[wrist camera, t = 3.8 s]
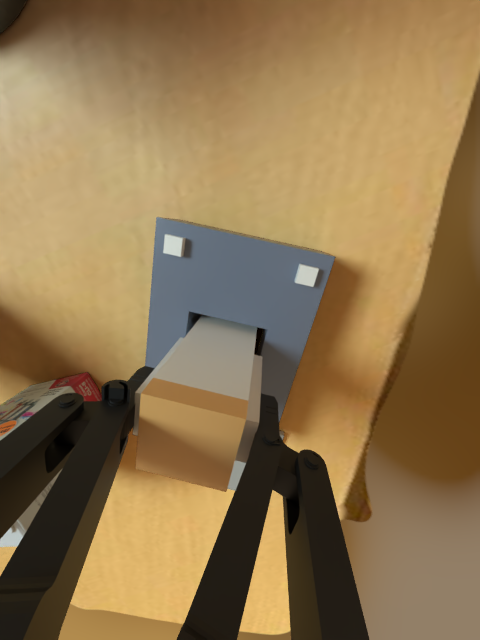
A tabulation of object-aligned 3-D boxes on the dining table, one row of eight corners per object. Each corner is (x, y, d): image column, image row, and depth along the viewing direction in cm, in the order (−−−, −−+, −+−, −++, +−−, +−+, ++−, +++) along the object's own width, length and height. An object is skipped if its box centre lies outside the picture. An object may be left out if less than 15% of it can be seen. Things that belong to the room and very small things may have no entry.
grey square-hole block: (179, 219, 21) (152, 216, 16) (321, 251, 20) (337, 257, 15) (160, 393, 27) (137, 429, 22) (268, 420, 27) (267, 461, 22)
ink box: (89, 369, 27) (-36, 467, 16) (122, 430, 30) (35, 550, 18) (27, 383, 29) (-125, 480, 18) (63, 440, 31) (-49, 555, 20)
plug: (210, 304, 23) (140, 393, 10) (258, 316, 23) (246, 419, 10) (202, 348, 24) (135, 468, 12) (247, 359, 24) (226, 491, 12)
